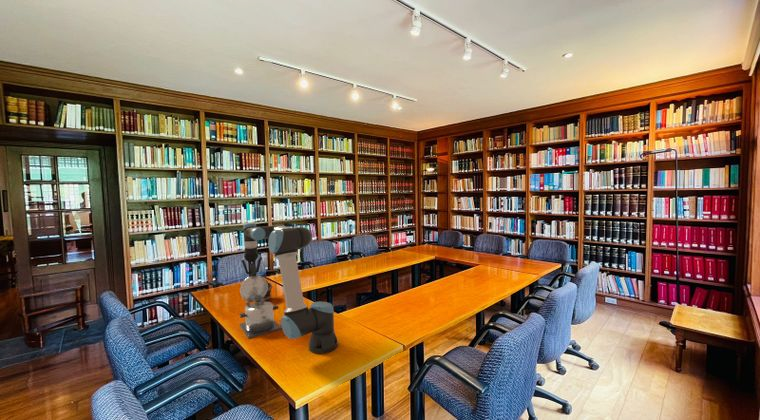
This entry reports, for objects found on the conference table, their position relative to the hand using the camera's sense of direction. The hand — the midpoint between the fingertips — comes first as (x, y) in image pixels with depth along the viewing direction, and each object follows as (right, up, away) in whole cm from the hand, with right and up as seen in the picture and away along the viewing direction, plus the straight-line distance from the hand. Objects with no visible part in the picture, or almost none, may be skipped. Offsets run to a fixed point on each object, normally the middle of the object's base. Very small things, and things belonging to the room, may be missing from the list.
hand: (252, 283), depth 197 cm
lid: (+2, +2, -3) cm, 4 cm away
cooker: (+8, -24, -9) cm, 27 cm away
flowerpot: (-9, -22, +39) cm, 46 cm away
